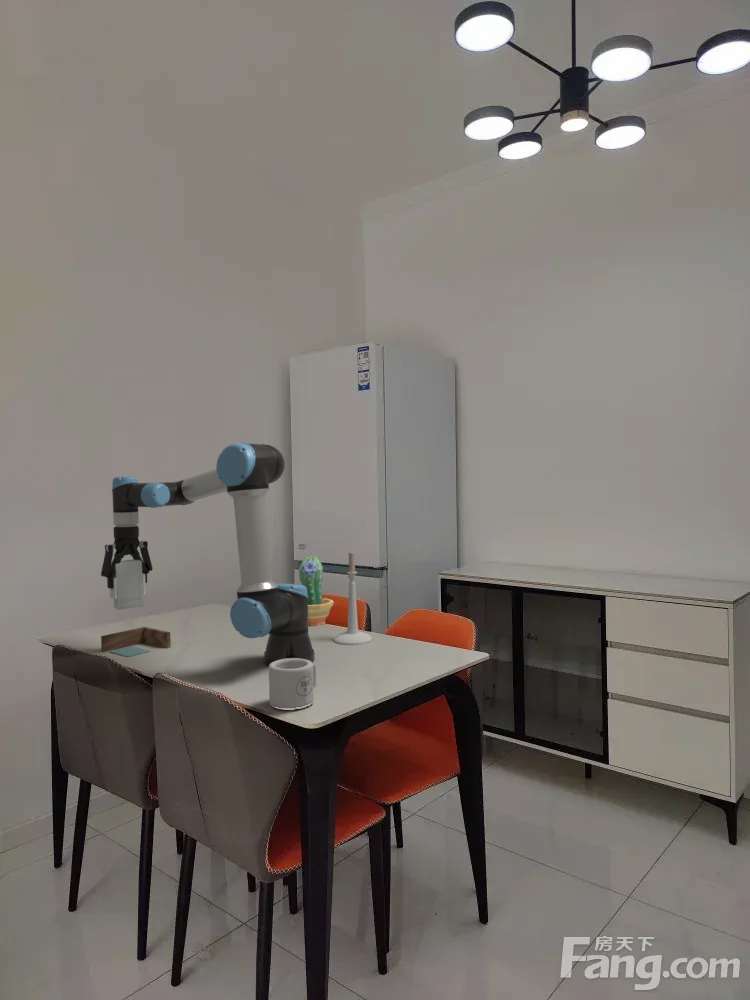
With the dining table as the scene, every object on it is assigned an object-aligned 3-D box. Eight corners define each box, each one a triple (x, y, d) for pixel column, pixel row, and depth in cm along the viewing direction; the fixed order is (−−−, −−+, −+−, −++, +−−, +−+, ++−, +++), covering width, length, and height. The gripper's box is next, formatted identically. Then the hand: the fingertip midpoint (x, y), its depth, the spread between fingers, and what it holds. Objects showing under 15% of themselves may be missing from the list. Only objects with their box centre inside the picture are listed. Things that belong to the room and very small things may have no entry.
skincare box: (139, 604, 224) (138, 558, 224) (144, 607, 219) (143, 560, 219) (112, 607, 220) (110, 560, 219) (116, 610, 215) (115, 562, 214)
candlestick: (329, 637, 235) (328, 549, 234) (365, 634, 239) (364, 547, 238) (339, 646, 223) (337, 553, 222) (377, 643, 227) (375, 551, 226)
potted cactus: (284, 624, 257) (282, 557, 256) (310, 617, 269) (309, 552, 268) (316, 629, 248) (315, 559, 247) (342, 621, 260) (341, 555, 259)
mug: (289, 714, 161) (288, 672, 161) (260, 705, 168) (259, 664, 168) (331, 700, 171) (330, 660, 171) (301, 691, 179) (300, 652, 178)
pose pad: (150, 651, 220) (150, 650, 220) (127, 657, 214) (127, 656, 214) (132, 647, 226) (132, 646, 226) (109, 652, 220) (109, 651, 220)
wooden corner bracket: (170, 647, 225) (170, 632, 225) (126, 658, 213) (126, 642, 212) (145, 641, 234) (144, 626, 234) (101, 651, 221) (101, 636, 221)
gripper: (149, 522, 229) (151, 589, 230) (86, 527, 212) (89, 600, 213) (163, 523, 225) (165, 592, 226) (100, 528, 207) (102, 602, 208)
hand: (128, 596), depth 219 cm, fingers closed on skincare box, 9 cm apart
